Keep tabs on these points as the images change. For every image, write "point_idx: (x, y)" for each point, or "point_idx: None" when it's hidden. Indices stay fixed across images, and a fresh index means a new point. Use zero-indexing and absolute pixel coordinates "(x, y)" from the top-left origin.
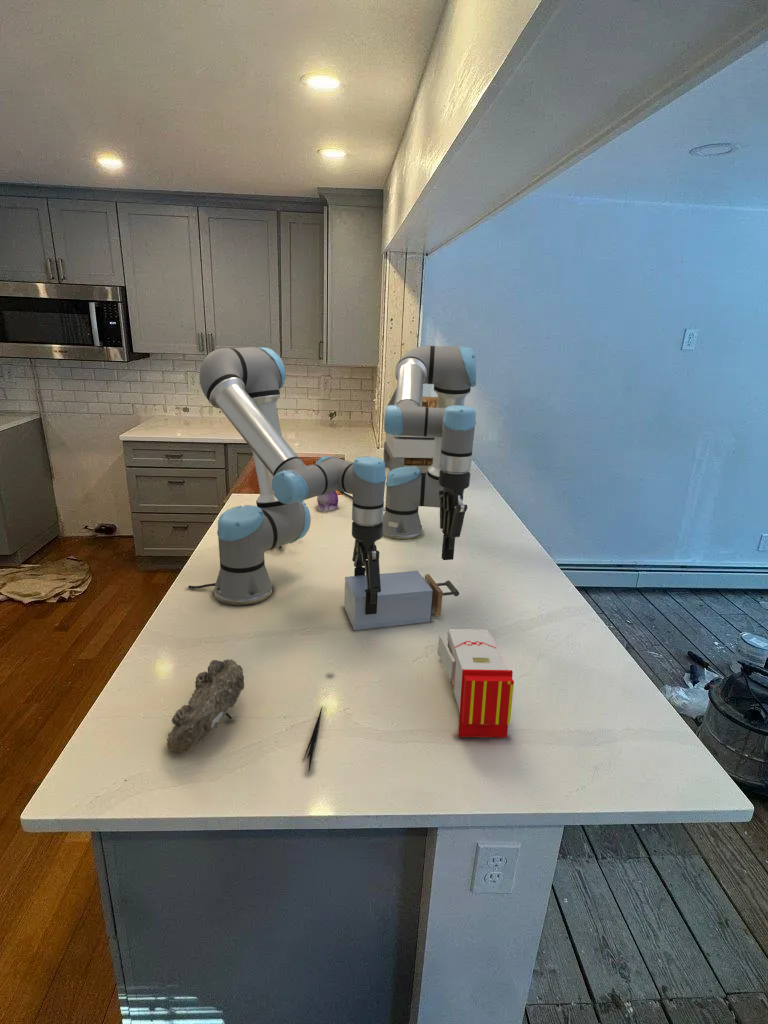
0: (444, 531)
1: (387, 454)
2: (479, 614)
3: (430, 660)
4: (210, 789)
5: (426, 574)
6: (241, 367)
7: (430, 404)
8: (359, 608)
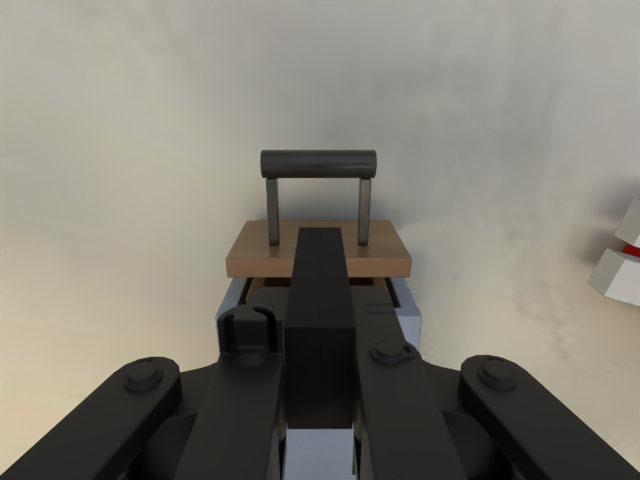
0: (284, 454)
1: None
2: (394, 50)
3: (582, 319)
4: None
5: (230, 271)
6: None
7: None
8: None
